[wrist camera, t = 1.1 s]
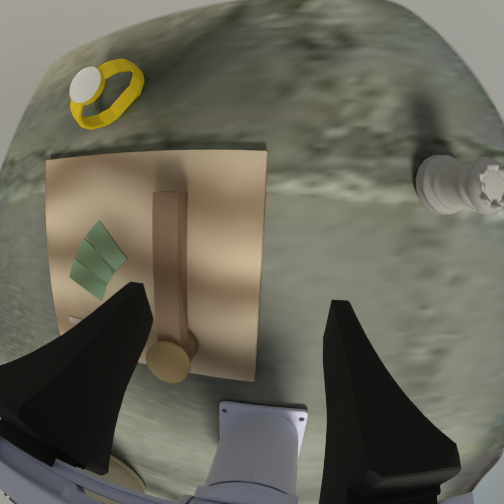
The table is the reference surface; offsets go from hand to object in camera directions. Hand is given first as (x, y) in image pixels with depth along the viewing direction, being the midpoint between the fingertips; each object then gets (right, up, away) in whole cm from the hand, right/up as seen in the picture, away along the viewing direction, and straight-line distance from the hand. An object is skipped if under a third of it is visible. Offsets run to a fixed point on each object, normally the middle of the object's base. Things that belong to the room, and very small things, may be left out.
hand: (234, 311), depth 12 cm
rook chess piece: (+15, +7, +8) cm, 18 cm away
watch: (-10, +15, +10) cm, 20 cm away
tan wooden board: (-9, +1, +13) cm, 15 cm away
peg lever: (-5, 0, +12) cm, 13 cm away
